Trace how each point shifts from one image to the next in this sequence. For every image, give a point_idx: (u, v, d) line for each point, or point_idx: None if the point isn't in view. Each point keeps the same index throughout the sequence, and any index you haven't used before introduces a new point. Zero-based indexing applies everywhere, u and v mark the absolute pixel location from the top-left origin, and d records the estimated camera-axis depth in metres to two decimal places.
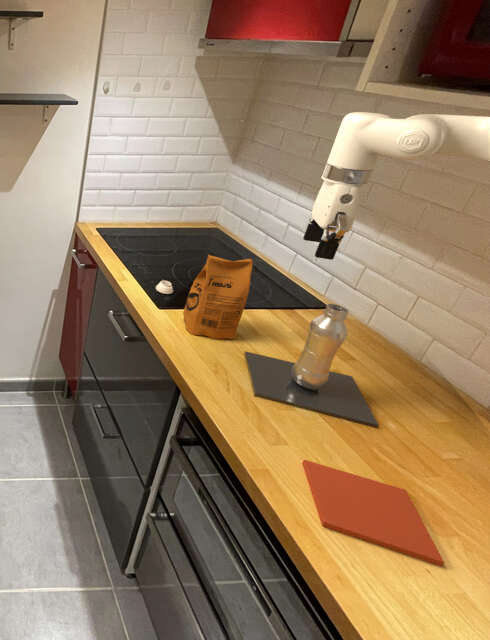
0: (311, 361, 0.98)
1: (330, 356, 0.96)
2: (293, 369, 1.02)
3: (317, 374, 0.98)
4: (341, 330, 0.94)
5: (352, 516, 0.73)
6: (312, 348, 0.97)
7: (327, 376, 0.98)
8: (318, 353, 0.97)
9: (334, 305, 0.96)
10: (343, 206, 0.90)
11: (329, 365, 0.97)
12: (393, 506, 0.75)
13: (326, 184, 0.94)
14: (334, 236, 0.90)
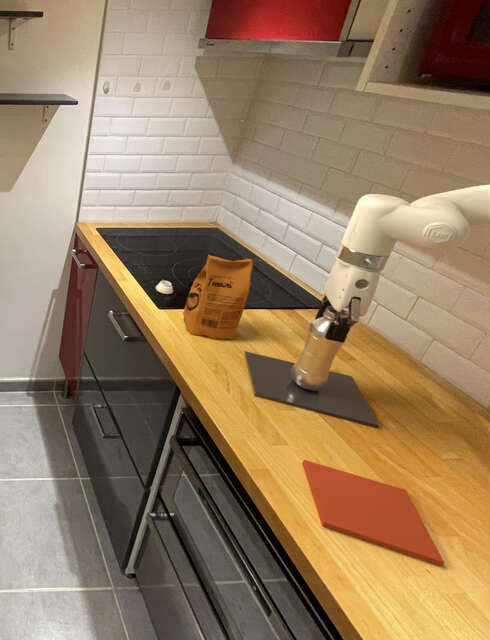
0: (311, 364, 0.98)
1: (329, 358, 0.95)
2: (293, 370, 1.02)
3: (317, 375, 0.97)
4: None
5: (352, 516, 0.73)
6: (312, 350, 0.97)
7: (327, 377, 0.98)
8: (318, 355, 0.96)
9: None
10: (358, 291, 0.86)
11: (328, 367, 0.97)
12: (393, 506, 0.75)
13: (340, 264, 0.91)
14: (345, 322, 0.88)
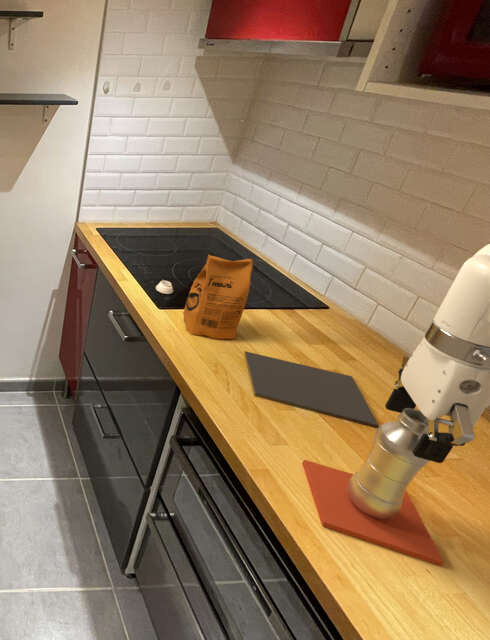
0: (379, 484, 0.71)
1: (407, 480, 0.69)
2: (350, 487, 0.75)
3: (387, 501, 0.71)
4: None
5: (352, 516, 0.73)
6: (380, 466, 0.70)
7: (400, 503, 0.71)
8: (390, 475, 0.70)
9: (413, 410, 0.68)
10: (464, 396, 0.59)
11: (404, 490, 0.70)
12: None
13: (431, 351, 0.63)
14: (450, 441, 0.60)
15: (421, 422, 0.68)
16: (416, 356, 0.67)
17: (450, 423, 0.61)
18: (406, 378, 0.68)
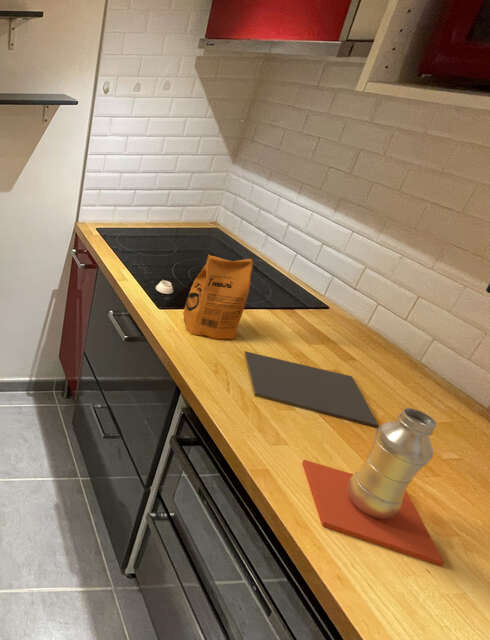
0: (378, 484, 0.71)
1: (407, 480, 0.69)
2: (350, 487, 0.75)
3: (387, 501, 0.71)
4: (424, 450, 0.66)
5: (352, 516, 0.73)
6: (380, 466, 0.70)
7: (400, 503, 0.71)
8: (390, 475, 0.70)
9: (413, 410, 0.68)
10: None
11: (404, 490, 0.70)
12: None
13: None
14: None
15: (421, 422, 0.68)
16: None
17: None
18: None
